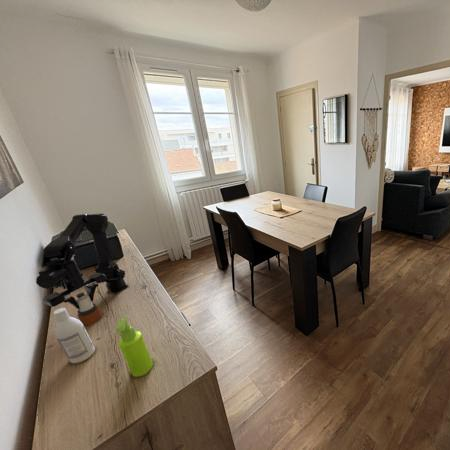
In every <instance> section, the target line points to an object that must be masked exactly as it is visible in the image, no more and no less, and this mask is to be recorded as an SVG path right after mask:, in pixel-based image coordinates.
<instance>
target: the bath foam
mask: <svg viewBox="0 0 450 450" xmlns="http://www.w3.org/2000/svg"><path fill="white" fill-rule="evenodd" d="M52 314H53V315H54V318H55V320H56V321H57V323H56V325H55V328H54V336H55V338H56V340H57V342H58V343H59V346H60V347H61V348H62V351H63V353H64V355H66V357H67V359H68V361H69V362H70V363H71V364H79V363H82V362H84V361H87V359H89V358H90V357H92V355H93V354H94V353H95V352H96V351H95V350H96V347H95V345H94V343H93V341H92V339H91V337H90V335H89V333H88V331H87V329H86V327H85V325H83V324H82V322H81V321H80V319H79V318H75V317H72V316H70V315H69V312H68V311H67V309H66V308H65V307H59V308H58V309H55V310H54V311H53V312H52Z"/></svg>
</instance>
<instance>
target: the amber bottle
mask: <svg viewBox="0 0 450 450" xmlns="http://www.w3.org/2000/svg"><path fill="white" fill-rule="evenodd" d="M92 303H93V302H92ZM76 312H77V318H78V320H80V321H81V322H82V324H83V325H84V326H89V325H93V324H95V323H96V322H98V321H100V320H101V319H102V317H103V314H102V312H101V310H100V308H99V306H98V305H97V304H96V303H95V302H94V303H93V307H92V308H91V309H89V310H87V311H84V312H81V311H80V310H79V309H77V311H76Z"/></svg>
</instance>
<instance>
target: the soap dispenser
mask: <svg viewBox="0 0 450 450" xmlns="http://www.w3.org/2000/svg"><path fill="white" fill-rule="evenodd" d="M128 320H129V318H128V317H125V318H121V319H119V321H118V324H117V326H116V331H115V333H116V334H118V333H119V335H120V337H121V338H120V340H119V341H118V346H119V348H120V351H121V353H122V355H123V357H124V359H125V361H126V363H127V366H128V368H129V370H130V373H131V375H132V376H133V377H134V378H135V377H136V378H138V377H142V376H145V375H146V374H147V373H148V372H150V370H152V368H153V365H154V362H153V359H152V358H151V355H150V352H149V350H148V347H147V345H146V342H145V339H144V337H143V335H142V333H141V331H138V330H135V328H134V326H133V325H129V323H128Z"/></svg>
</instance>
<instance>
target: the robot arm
mask: <svg viewBox="0 0 450 450" xmlns="http://www.w3.org/2000/svg"><path fill="white" fill-rule="evenodd" d="M108 227H109V219H108V216H107V215H105V214H104V213H101V212H100V213H92V214H87V213H82V214H75V215H73V216H72V218H71V221H70V222H69V224H68V225H67V226H66V228H65V229H64V230H63V231H62V233H61V235H59V237H58V238H56V239H53V240H51V241H50V242H49V243H48V244H46V245H45V247H44V249H43V252H42V253H43V254H42V260H41V268H44V269H41V270H39V271H38V276H37V277H36V279H35V283H36V284H37V286H38V287H40V288H42V289H46V290H49V289H54V290H55V289H58V288H60V289H63V291H62V292H60V293H59V292H57V291H54V292H53V293H50V294H48V295H46V296H44V297H43V299H42V301H43V302H44V305H47V306H49V307H52V308H54V307H57V306H59V305H60V304H63V303H64V304H65V303H69V304H70V305H71V306H73V307H74V308H75V309H77V310H79V309H80V308H79V305H78V303H77V302H76V300H75V299H76V298H75V297H74V296H72V295H71V294H74V293H75V292H77V291H79V290H81V289H84V290H85V292H86V295H89V297H90V299H91V301H92V303H93V302H94V298H95V293H96V290H97V287H99V284H101V283H105V287H106V289H107V292H109V293H111V294H114V295H115V294H118V293H119V292H122V291H123V290H125V289H126V288H129V285H128V284H126V282H125V279H124V278H125V276H126V271H125V270H123V269H121V268H120V267H119V265H118V264H117V262H115V261H114V260H113V258H112V253H111V250H110V245H109V240H108V236H107V232H106V231H107V229H108ZM84 230H87V231H88V232H89V233H90V234H91V235H92V239H93V243H94V248H95V251H96V255H97V258H98V259H97V260H98V266H97V267H96V268H95V269H94V270H95V273H92V274H91V275H88V276H87V279H86V280H85V279H84V277H83V276H84V274H83V272H81V271H80V268H79V266H78V264H77V262H76V260H75V259H77V258H78V255H77V254H74V253H75V251H76V249H77V246H76V243H77V240H78V239H79V237H80V235H81V234H82V233H83V231H84Z"/></svg>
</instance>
